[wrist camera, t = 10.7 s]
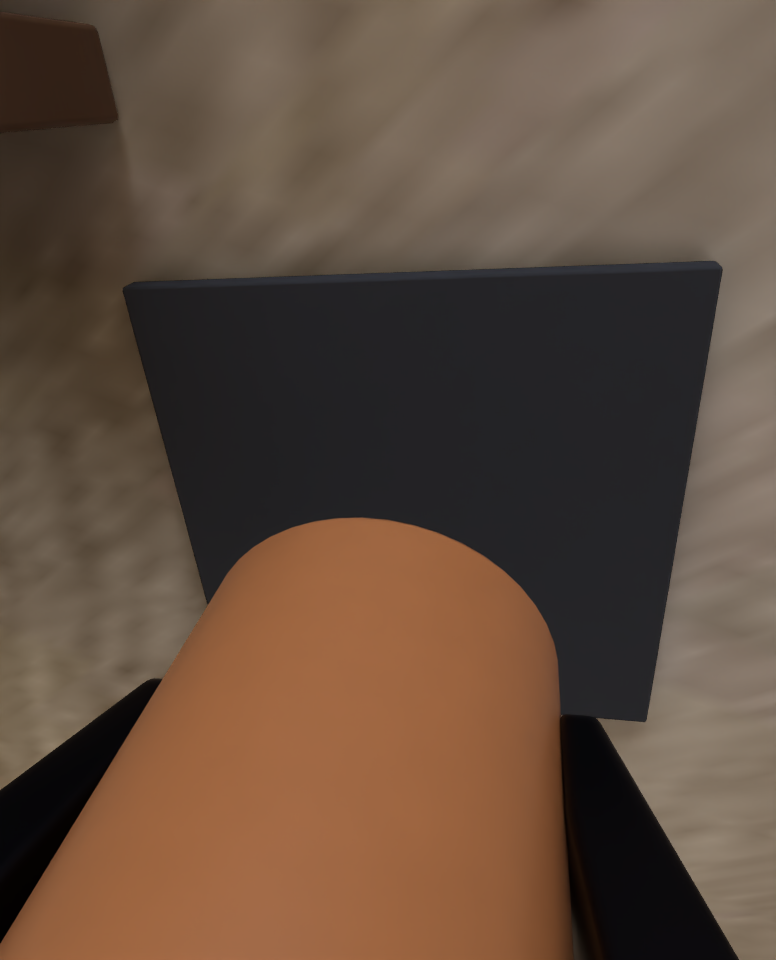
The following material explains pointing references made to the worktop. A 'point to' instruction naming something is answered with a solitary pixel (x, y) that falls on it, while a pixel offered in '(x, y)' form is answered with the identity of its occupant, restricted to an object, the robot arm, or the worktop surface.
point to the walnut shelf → (52, 75)
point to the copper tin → (331, 772)
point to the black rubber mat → (451, 429)
